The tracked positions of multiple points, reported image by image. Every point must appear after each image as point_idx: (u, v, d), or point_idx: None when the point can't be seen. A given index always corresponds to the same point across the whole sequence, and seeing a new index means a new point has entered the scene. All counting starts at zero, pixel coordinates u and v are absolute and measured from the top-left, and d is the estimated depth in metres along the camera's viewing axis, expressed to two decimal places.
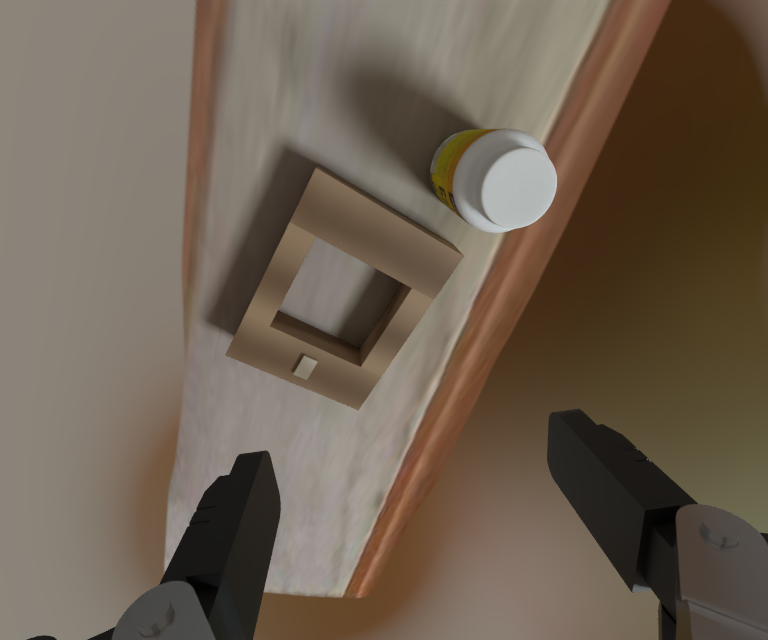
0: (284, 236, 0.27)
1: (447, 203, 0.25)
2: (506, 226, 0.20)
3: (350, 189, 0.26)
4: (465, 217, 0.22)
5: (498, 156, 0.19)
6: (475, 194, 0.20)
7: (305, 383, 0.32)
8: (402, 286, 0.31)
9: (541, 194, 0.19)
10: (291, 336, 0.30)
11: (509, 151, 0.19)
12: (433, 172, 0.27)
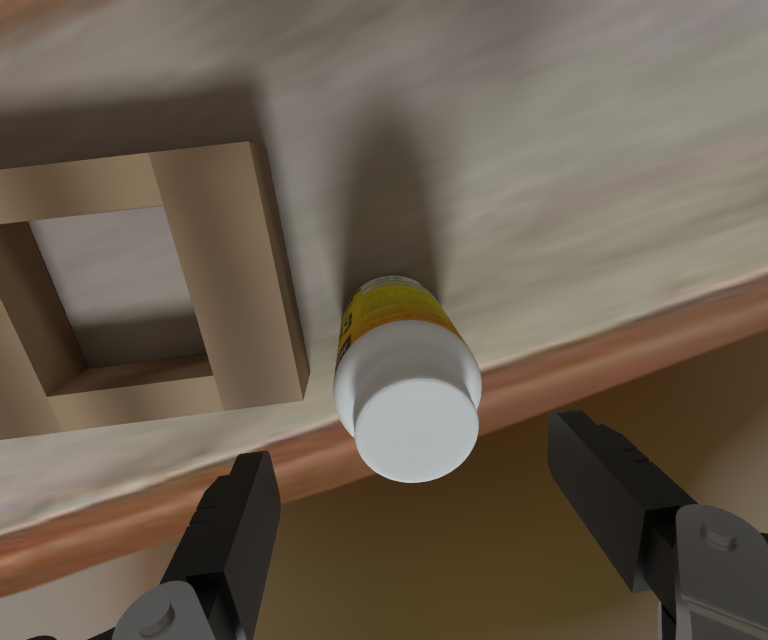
0: (121, 158, 0.15)
1: (340, 339, 0.17)
2: (363, 456, 0.12)
3: (261, 208, 0.16)
4: (336, 385, 0.14)
5: (435, 375, 0.11)
6: (370, 381, 0.12)
7: None
8: None
9: (433, 461, 0.12)
10: None
11: (451, 383, 0.11)
12: (362, 292, 0.19)
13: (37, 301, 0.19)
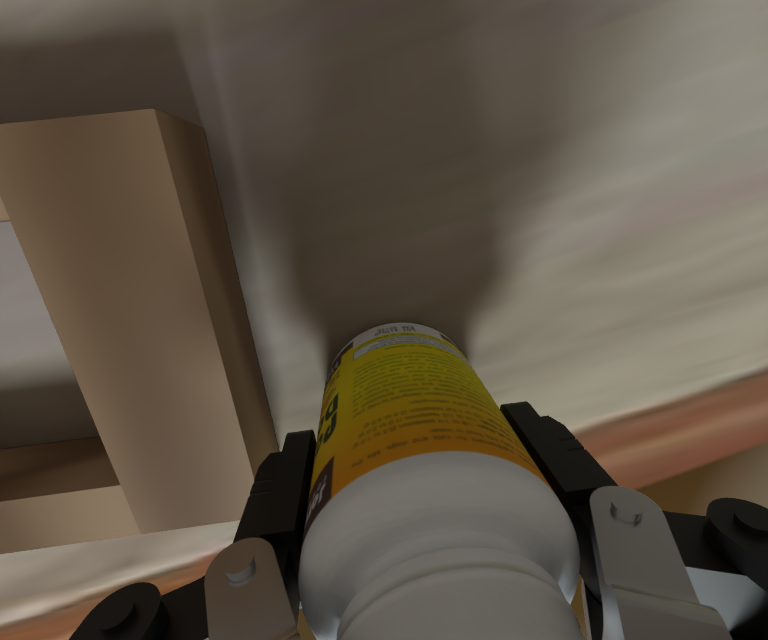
0: None
1: (317, 444, 0.10)
2: None
3: (183, 224, 0.10)
4: (302, 578, 0.07)
5: (525, 637, 0.05)
6: (370, 621, 0.05)
7: None
8: None
9: None
10: None
11: None
12: (355, 352, 0.12)
13: None
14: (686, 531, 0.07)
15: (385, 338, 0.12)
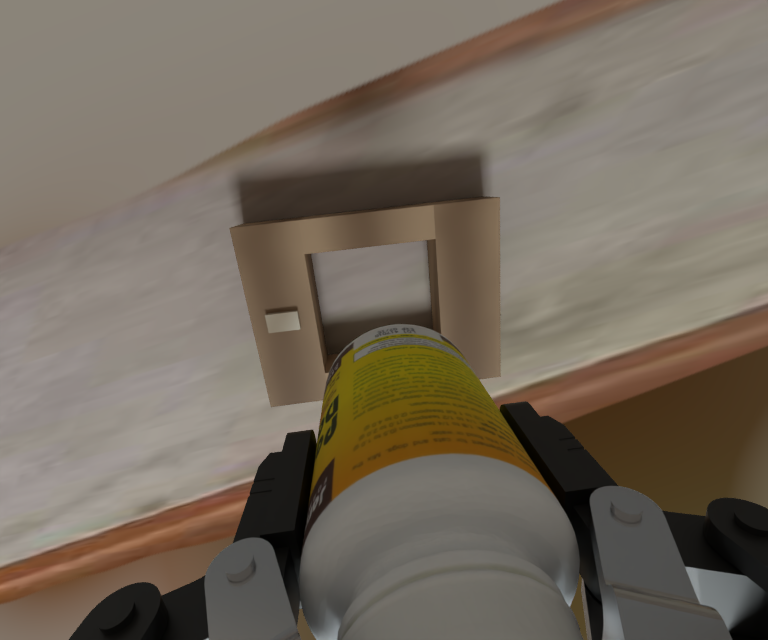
0: (415, 208, 0.23)
1: (318, 446, 0.10)
2: None
3: (498, 240, 0.24)
4: (302, 580, 0.07)
5: None
6: (370, 623, 0.05)
7: (261, 335, 0.24)
8: None
9: None
10: (308, 283, 0.24)
11: None
12: (355, 354, 0.12)
13: (316, 304, 0.26)
14: (686, 531, 0.07)
15: (385, 340, 0.12)
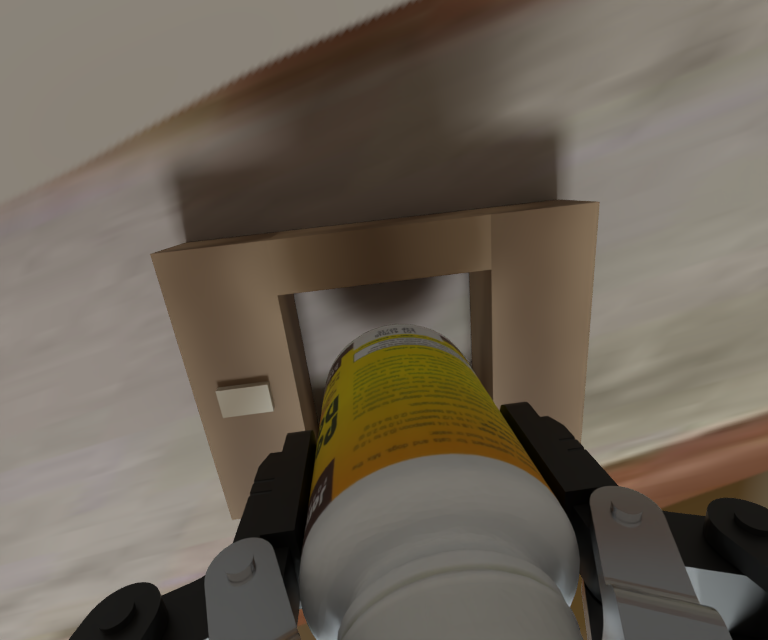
0: (461, 221, 0.14)
1: (318, 446, 0.10)
2: None
3: (592, 271, 0.15)
4: (302, 581, 0.07)
5: None
6: (370, 623, 0.05)
7: (212, 418, 0.15)
8: None
9: None
10: (285, 340, 0.15)
11: None
12: (355, 354, 0.12)
13: (301, 365, 0.17)
14: (686, 531, 0.07)
15: (385, 340, 0.12)
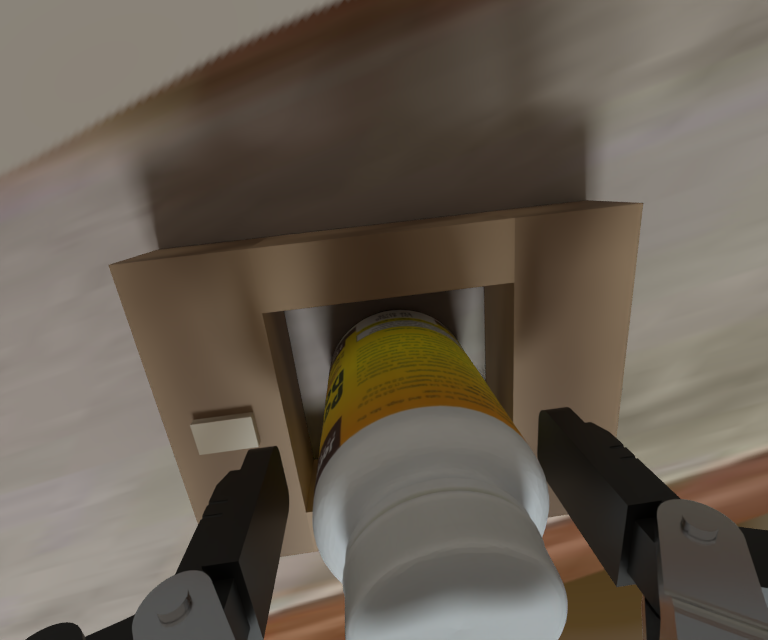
0: (479, 225, 0.12)
1: (325, 412, 0.11)
2: None
3: (631, 285, 0.13)
4: (316, 512, 0.08)
5: (494, 535, 0.06)
6: (373, 532, 0.07)
7: (187, 455, 0.13)
8: None
9: None
10: (271, 366, 0.12)
11: (524, 551, 0.06)
12: (358, 335, 0.14)
13: (292, 390, 0.15)
14: (763, 549, 0.07)
15: (385, 322, 0.14)
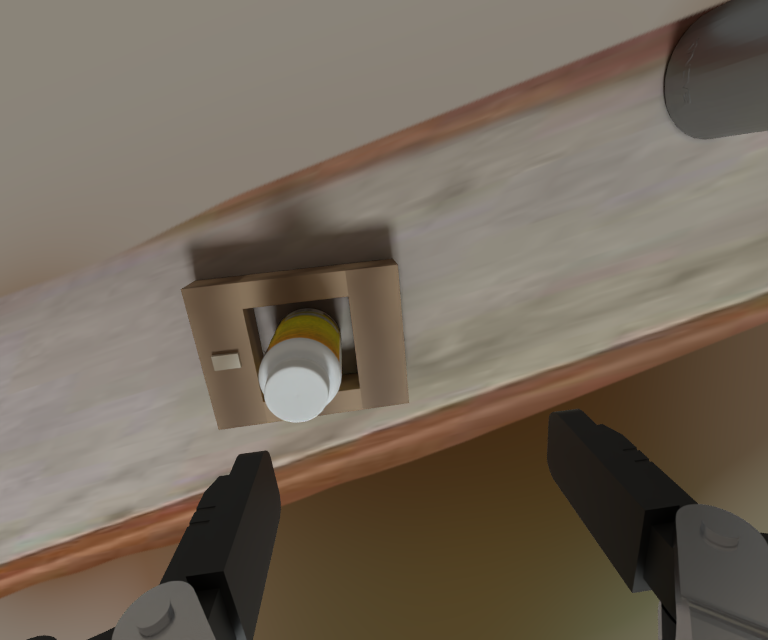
0: (330, 273, 0.29)
1: None
2: (269, 407, 0.24)
3: (399, 297, 0.30)
4: (259, 373, 0.25)
5: (303, 365, 0.23)
6: (273, 369, 0.24)
7: (208, 372, 0.30)
8: (349, 377, 0.34)
9: (306, 410, 0.24)
10: (246, 331, 0.29)
11: (311, 369, 0.23)
12: (285, 319, 0.31)
13: (256, 345, 0.32)
14: None
15: (297, 313, 0.31)
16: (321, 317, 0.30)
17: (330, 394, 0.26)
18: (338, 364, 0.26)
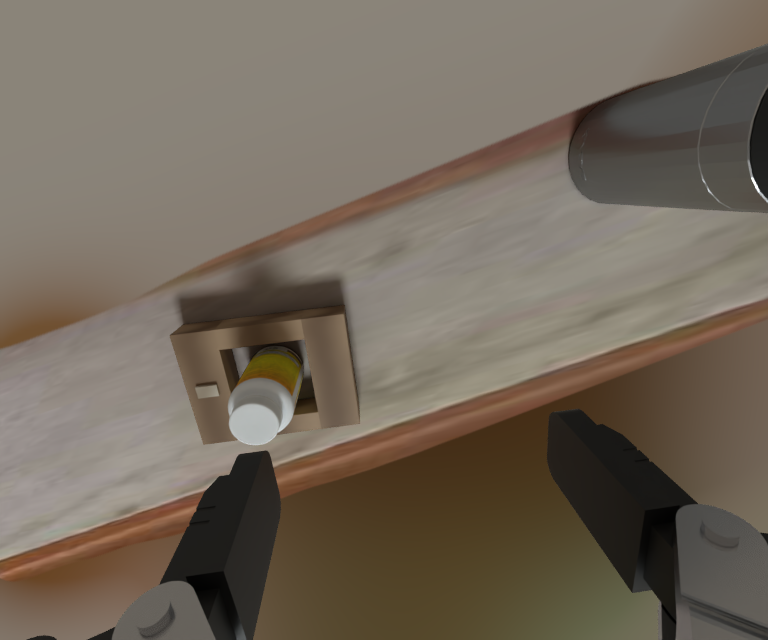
0: (289, 321, 0.35)
1: None
2: (233, 434, 0.31)
3: (346, 339, 0.36)
4: (228, 405, 0.32)
5: (258, 402, 0.30)
6: (236, 404, 0.31)
7: (194, 399, 0.37)
8: (311, 401, 0.41)
9: (262, 435, 0.31)
10: (223, 367, 0.36)
11: (264, 405, 0.30)
12: (255, 356, 0.37)
13: (233, 376, 0.39)
14: None
15: (265, 351, 0.37)
16: (284, 355, 0.37)
17: (284, 421, 0.33)
18: (290, 398, 0.33)
